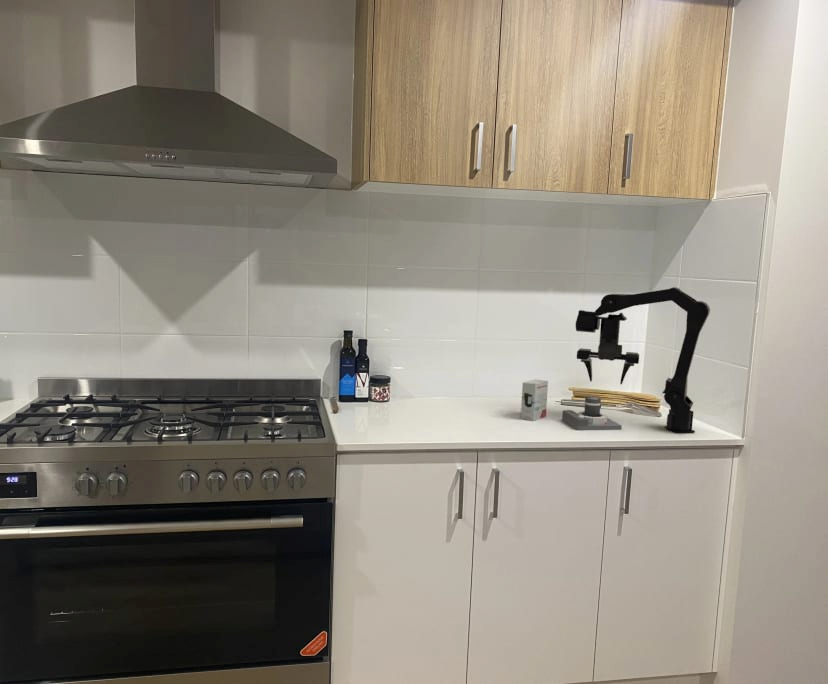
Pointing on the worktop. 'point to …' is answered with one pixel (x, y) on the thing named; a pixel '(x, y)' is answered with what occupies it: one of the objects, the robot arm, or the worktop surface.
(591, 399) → the lens
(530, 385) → the ink box
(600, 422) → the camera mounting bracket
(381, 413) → the worktop surface
